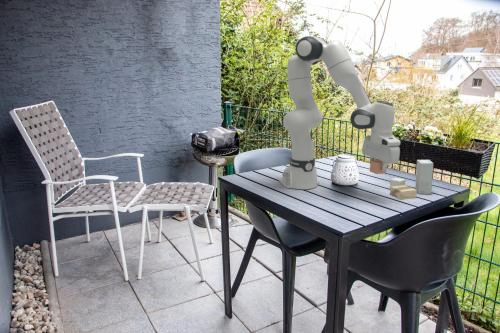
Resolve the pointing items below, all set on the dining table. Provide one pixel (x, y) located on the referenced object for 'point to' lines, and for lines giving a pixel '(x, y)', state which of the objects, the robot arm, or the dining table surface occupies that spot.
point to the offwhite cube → (397, 182)
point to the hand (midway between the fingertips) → (378, 168)
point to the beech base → (403, 192)
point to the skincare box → (424, 176)
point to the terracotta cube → (376, 167)
